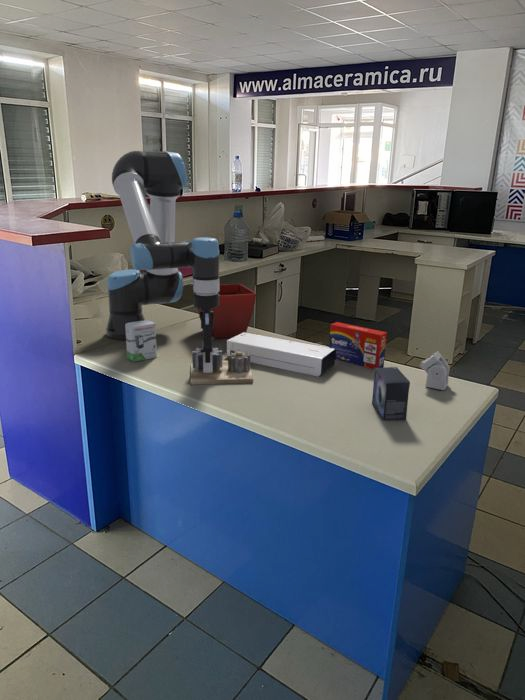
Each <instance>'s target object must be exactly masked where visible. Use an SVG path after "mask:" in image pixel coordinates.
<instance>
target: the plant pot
mask: <svg viewBox="0 0 525 700" xmlns="http://www.w3.org/2000/svg"><path fill="white" fill-rule="evenodd" d="M219 290H220V291H219V292H218V294H219V306H218V307H216V308H211V311H213V314H214V319H213V328H212V337H213V339H223V338H232V337H235V336H237V335H239V334H241V333H243V332H245V333H247V330H248V327H249V325H250V322H251V318H252V315H253V312H254V308H255V304H256V300H257V292H255V291H254V290H252V289H250V288H248V287H246V286H245V285H243V284H241V283H231V284H229V283H228V284H227V283H226V284H219ZM194 293H195V292H194V291H193V294H194ZM196 310H197V313H198V317H199V318H200V311H202V308H197V309H196Z"/></svg>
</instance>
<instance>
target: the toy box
mask: <svg viewBox="0 0 525 700" xmlns="http://www.w3.org/2000/svg"><path fill="white" fill-rule="evenodd" d="M329 331H330V332H329V347H328V348H333V349H336V359H335V361H340V362H344V363H347V364H352V365H355V366H360V367H363V368H367V369H371V370H374V371H375V368H385V356H386V347H387V346H386V345H387V336H388V332H386V331H381V330H376V329H373V328H368V327H362V326H358V325H352V324H349V323H343V322H339V321H336V322H334V323H331V324H330V330H329Z"/></svg>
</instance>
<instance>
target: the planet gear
mask: <svg viewBox="0 0 525 700" xmlns="http://www.w3.org/2000/svg"><path fill="white" fill-rule="evenodd" d="M206 348H209V347H206ZM201 350H203V347H202V348H201V347H196V348H195V349H194V350H192V351H191V355H192V356H191V357H192V361H193V368H196V371H198V372H199V371H203V352H201ZM222 361H223V350H220V348H218V347H212V366H213V371H219V370H220V368H223V367H222Z"/></svg>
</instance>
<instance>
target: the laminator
mask: <svg viewBox="0 0 525 700" xmlns="http://www.w3.org/2000/svg"><path fill="white" fill-rule="evenodd" d="M225 347H226V349H225V350H226V352H225V354H226V357H227V358H228V355H230V353H236V352H242V353H247V355H250V363H253V364H256V365H257V364H258V365H262V366H267V367H272V368H276V369H282V370H285V371H292V372H295V373H300V374H304V375H305V374H306V375H309V376H314V377H321V376H322V375H323V374H324V373H326V372H327V371H328V370H329V369H330V368H332V367H333V366H335V364H336V360H335V359H336V349H333V348H329V347H326V346H321V345H316V344H309V343H304V342H300V341H299V342H298V341H294V340H293V341H292V340H288V339H284V338H283V339H282V338H279V337H278V338H277V337H271V336H266V335H259V334H254V333H251V332H250V333H249V332H246V333H245V332H243V333H241V334H239V335H237V336H235V337H229V338H228V339H226V343H225Z"/></svg>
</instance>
